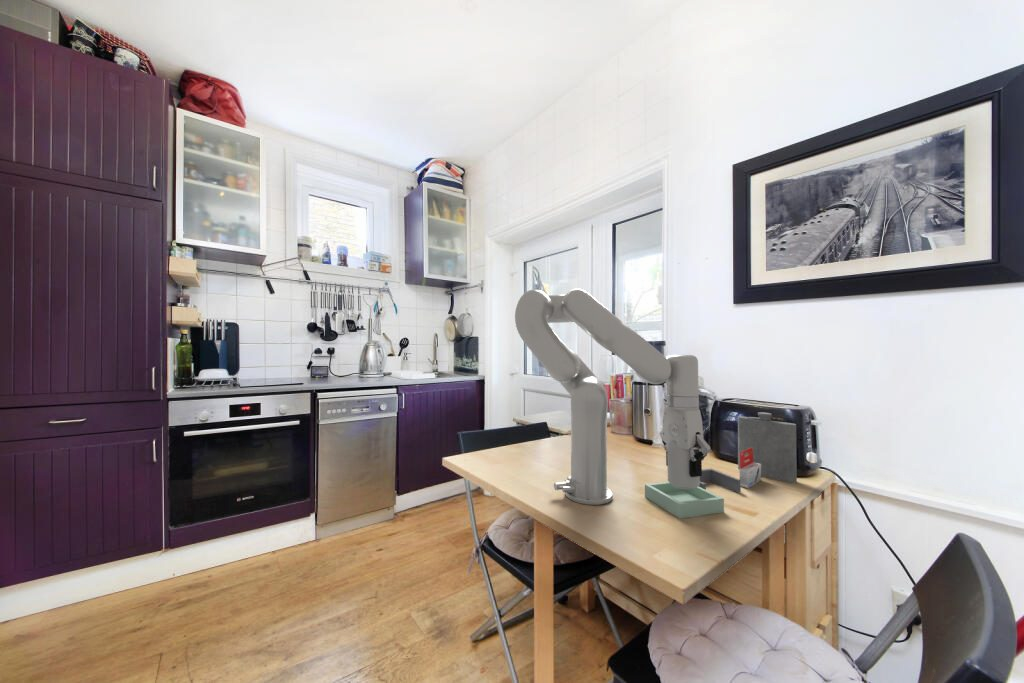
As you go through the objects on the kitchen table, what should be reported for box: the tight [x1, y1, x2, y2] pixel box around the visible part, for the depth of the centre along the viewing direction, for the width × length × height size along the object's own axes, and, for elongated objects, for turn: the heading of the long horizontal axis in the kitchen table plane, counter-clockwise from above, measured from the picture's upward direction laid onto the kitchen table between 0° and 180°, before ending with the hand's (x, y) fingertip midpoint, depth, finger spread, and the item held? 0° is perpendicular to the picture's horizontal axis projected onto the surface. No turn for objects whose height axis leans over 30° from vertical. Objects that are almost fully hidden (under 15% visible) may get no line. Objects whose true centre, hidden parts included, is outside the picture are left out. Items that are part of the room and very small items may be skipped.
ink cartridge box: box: [739, 447, 762, 489], centre depth 108 cm, size 2×11×10 cm, turn 129°
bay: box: [699, 468, 742, 494], centre depth 103 cm, size 13×10×4 cm
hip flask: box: [737, 411, 798, 484], centre depth 115 cm, size 16×4×20 cm, turn 36°
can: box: [667, 440, 700, 490], centre depth 92 cm, size 8×8×12 cm
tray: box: [644, 481, 725, 519], centre depth 92 cm, size 13×13×3 cm
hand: (683, 470), depth 92 cm, fingers closed on can, 7 cm apart
